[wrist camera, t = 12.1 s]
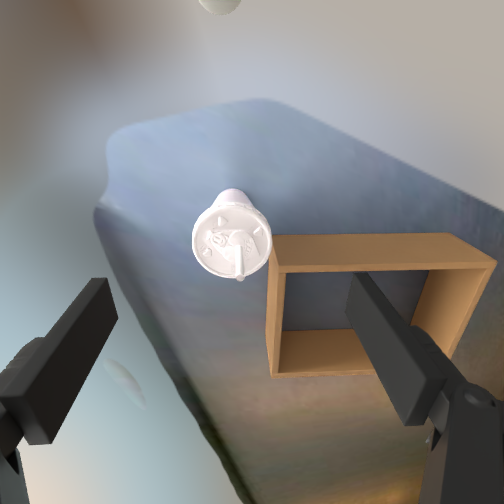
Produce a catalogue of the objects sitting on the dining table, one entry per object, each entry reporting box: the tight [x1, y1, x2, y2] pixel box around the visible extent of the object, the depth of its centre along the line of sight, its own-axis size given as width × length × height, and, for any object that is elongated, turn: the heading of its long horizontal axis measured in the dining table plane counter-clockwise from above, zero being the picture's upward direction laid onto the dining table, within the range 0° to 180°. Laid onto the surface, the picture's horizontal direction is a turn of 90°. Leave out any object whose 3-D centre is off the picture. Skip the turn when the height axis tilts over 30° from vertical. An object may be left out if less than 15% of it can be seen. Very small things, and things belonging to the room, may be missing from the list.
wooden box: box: [265, 233, 498, 378], centre depth 33 cm, size 16×22×7 cm
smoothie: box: [192, 189, 272, 281], centre depth 24 cm, size 6×6×14 cm
